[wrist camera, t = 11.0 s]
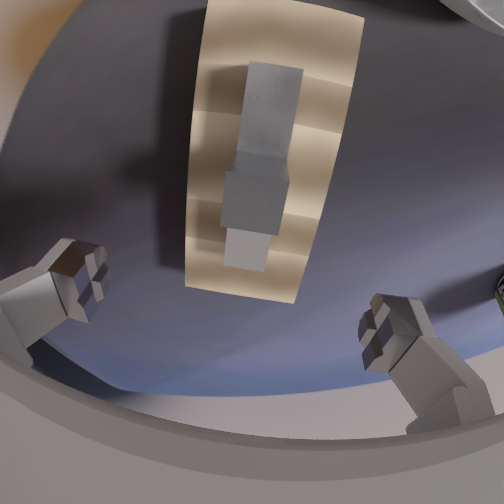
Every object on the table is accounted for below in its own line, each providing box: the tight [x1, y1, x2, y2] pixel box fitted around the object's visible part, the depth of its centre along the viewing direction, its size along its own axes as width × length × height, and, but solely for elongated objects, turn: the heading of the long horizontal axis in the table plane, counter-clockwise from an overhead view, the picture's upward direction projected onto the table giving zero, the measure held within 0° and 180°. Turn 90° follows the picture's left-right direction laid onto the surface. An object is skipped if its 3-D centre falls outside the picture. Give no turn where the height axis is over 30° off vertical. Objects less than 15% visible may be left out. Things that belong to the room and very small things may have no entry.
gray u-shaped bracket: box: [220, 61, 304, 272], centre depth 18 cm, size 14×3×10 cm, turn 172°
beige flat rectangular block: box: [185, 0, 365, 304], centre depth 21 cm, size 24×10×4 cm, turn 172°
